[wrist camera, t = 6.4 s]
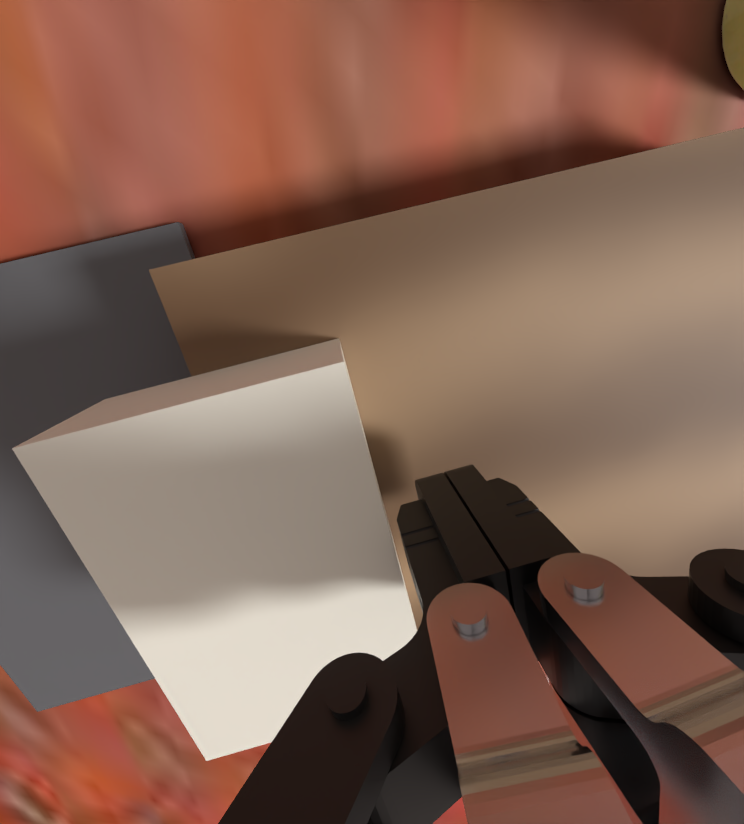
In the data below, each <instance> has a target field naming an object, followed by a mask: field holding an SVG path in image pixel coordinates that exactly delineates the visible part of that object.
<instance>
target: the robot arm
mask: <svg viewBox="0 0 744 824" xmlns="http://www.w3.org/2000/svg"><path fill="white" fill-rule="evenodd" d="M415 487H416V491H417V496H418V500H417V501H413V502H409V503H406V504H402V505H401V506H400V509H399V513H398V516H397V523H398V527H399V531H400V535H401V539H402V543H403V547H404V550H405V554H406V558H407V562H408V566H409V570H410V573H411V576H412V579H413V583H414V586H415V589H416V593H417V596H418V599H419V602H420V606H421V609H422V612H423V617H422V621H421V624H420V626H419V628H418V630H417V632H416V634H415V635H414V636H413V638H412V639H411V640H410V641H409V642H408V643H407V644H406V645H405V646H404V647H402V648H401V649H400V650H398V651H397V652H395V653H394V654H392V655H391V656H389V657H388V658H386V659H385V660H384V661H382V660H381V659H380V658H378V657H376V656H374V655H371V654H368V653H360V652H359V653H350V654H346V655H343V656H341V657H338V658H336V659H335V660H333V661H331V662H330V663H328V664H327V665H326V666H325V667H323V668H322V669H321V670H320V671H319V673H318V674H317V675H316V676H315V678H314V679H313V680H312V682H311V683H310V685H309V686H308V688H307V689H306V691H305V692H304V694H303V695H302V697H301V698H300V700H299V701H298V703H297V704H296V706H295V708H294V709H293V711H292V712H291V714H290V715H289V717H288V718H287V720H286V721H285V723H284V724H283V726H282V727H281V729H280V730H279V732H278V733H277V735H276V736H275V738H274V740H273V741H272V743H271V744H270V746H269V747H268V749H267V750H266V752H265V753H264V755H263V756H262V758H261V759H260V761H259V762H258V764H257V765H256V767H255V768H254V770H253V772H252V773H251V775H250V776H249V778H248V779H247V781H246V782H245V784H244V785H243V787H242V788H241V790H240V791H239V793H238V794H237V796H236V797H235V799H234V800H233V802H232V803H231V805H230V807H229V808H228V810H227V811H226V813H225V814H224V816H223V817H222V819H221V820H220V822H219V823H218V824H433V822H434V821H435V820H437V819H438V818H439V817H440V816H441V815H442V814H443V813H444V812H445V811H447V810H448V809H449V808H450V807H451V806H452V805H453V804H454V803H455V802H456V801H458V800H459V799H460V798H461V797H462V798H463V803H464V808H465V813H466V818H467V822H468V824H744V550H739V549H726V548H723V549H712V550H707V551H704V552H701V553H700V554H698V555H696V556H695V557H694V558H693V559H692V561H691V563H690V567H689V576H668V577H639V576H630V575H628V574H627V573H626V572H624V571H623V570H622V569H621V568H619V567H618V566H617V565H615V564H613V563H612V562H610V561H608V560H606V559H603V558H601V557H598V556H595V555H591V554H586V553H581V552H580V551H579V550H578V549H577V548H576V547H575V546H574V545H573V544H572V543H571V542H570V541H569V540H568V539H567V538H566V537H565V535H564V534H563V533H562V532H561V531H560V530H559V529H558V528H557V527H556V526H555V525H554V524H553V523H552V522H551V521H550V520H549V519H548V518H547V517H546V516H545V515H544V514H543V513H542V512H541V511H539V508H538V507H537V506H536V505H535V504H534V503H533V502H532V501H529V498H528V497H527V496H526V495H525V494H524V493H523V492H522V491H521V490H520V489H519V488H518V486H516V485H514V484H512V483H510V482H508V481H505V480H503V479H501V478H495V479H491V480H488V481H486V480H485V478H484V477H483V476H482V475H481V474H480V472H479V471H478V470H477V469H476V468H475V466H474V465H472V464H471V465H467V466H464V467H460V468H456V469H453V470H449V471H446V472H444V473H439V474H435V475H432V476H428V477H424V478H421V479H417V480H415ZM538 661H539V662H540V664H541V666H542V667H543V669H544V671H545V673H546V674H547V676H548V678H549V683H548V681H547V679H546V677H545V675H544V673H543V671H542V669H541V667H540V664H539V662H538ZM549 684H550V685H549Z"/></svg>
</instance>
